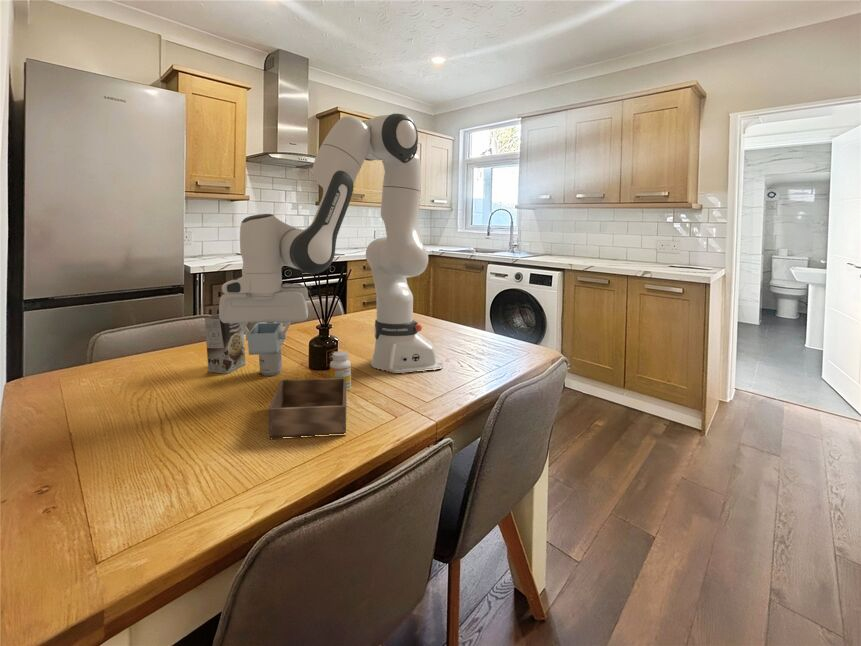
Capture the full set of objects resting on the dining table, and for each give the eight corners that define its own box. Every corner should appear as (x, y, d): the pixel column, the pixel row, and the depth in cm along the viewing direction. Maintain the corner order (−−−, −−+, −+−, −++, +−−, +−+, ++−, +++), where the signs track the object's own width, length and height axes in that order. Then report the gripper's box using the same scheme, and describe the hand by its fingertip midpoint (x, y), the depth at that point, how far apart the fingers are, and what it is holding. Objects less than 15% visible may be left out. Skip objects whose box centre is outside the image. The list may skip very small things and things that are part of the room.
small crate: (283, 341, 117) (282, 322, 116) (277, 353, 107) (276, 333, 106) (258, 342, 116) (256, 323, 115) (248, 354, 106) (247, 334, 104)
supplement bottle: (331, 384, 122) (331, 350, 120) (351, 384, 123) (351, 350, 121) (329, 391, 117) (328, 356, 115) (349, 391, 117) (349, 356, 115)
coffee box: (227, 374, 127) (223, 318, 124) (207, 372, 129) (203, 317, 125) (246, 364, 136) (243, 312, 133) (227, 362, 137) (224, 311, 134)
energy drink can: (259, 370, 131) (257, 320, 128) (281, 368, 134) (279, 319, 130) (260, 377, 126) (257, 325, 123) (282, 375, 128) (280, 324, 125)
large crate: (346, 403, 110) (346, 378, 109) (345, 435, 94) (345, 406, 92) (281, 405, 108) (280, 379, 106) (269, 439, 91) (267, 409, 90)
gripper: (308, 281, 113) (311, 334, 116) (221, 282, 109) (226, 337, 112) (306, 285, 106) (308, 341, 110) (214, 286, 103) (219, 344, 106)
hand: (266, 339), depth 111 cm, fingers closed on small crate, 6 cm apart
